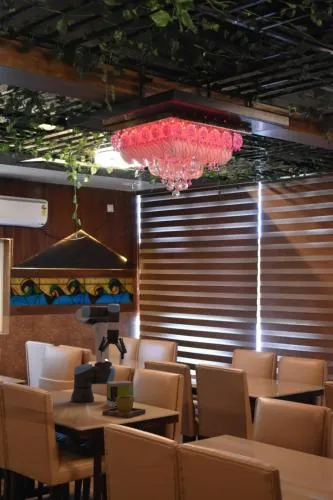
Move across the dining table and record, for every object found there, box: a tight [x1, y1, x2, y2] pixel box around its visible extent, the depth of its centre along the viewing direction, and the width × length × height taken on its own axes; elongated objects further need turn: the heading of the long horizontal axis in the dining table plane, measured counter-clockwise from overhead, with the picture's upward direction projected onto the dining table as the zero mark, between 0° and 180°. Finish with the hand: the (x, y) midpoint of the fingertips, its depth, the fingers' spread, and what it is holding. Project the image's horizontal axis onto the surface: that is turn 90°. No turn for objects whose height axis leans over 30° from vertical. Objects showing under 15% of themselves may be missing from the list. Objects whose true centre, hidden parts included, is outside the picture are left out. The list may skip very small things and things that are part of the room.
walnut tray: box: [102, 407, 147, 419], centre depth 391 cm, size 18×18×2 cm
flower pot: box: [116, 396, 135, 413], centre depth 391 cm, size 9×9×9 cm
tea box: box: [106, 380, 134, 408], centre depth 420 cm, size 15×10×15 cm, turn 108°
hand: (112, 363), depth 412 cm, fingers open, 13 cm apart
